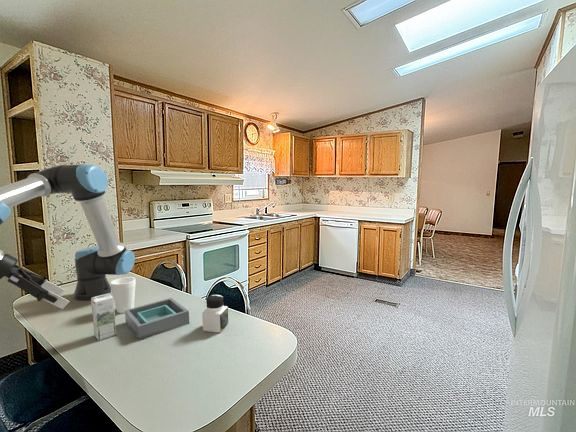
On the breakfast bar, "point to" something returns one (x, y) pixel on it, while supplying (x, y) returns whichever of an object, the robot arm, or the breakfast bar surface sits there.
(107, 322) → the syrup box
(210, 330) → the medicine bottle
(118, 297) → the foam cup
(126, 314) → the walled box
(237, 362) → the breakfast bar surface
